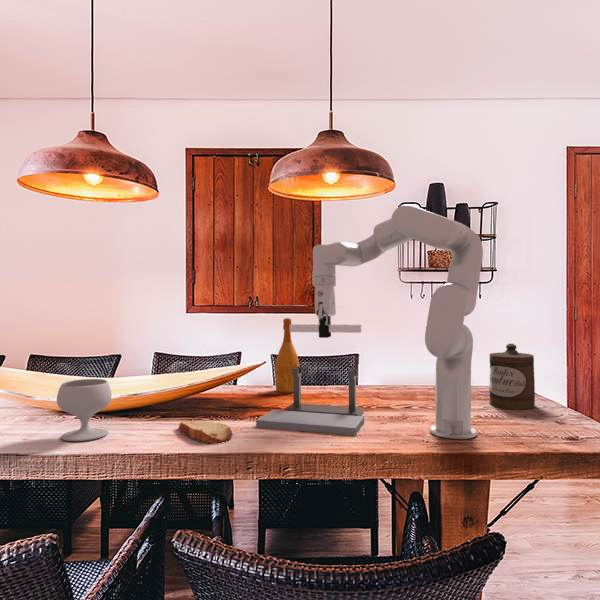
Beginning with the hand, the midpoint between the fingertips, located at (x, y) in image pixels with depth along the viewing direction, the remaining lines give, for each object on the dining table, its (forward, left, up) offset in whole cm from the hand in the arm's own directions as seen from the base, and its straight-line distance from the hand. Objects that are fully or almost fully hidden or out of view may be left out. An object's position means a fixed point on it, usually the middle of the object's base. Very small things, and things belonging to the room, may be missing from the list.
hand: (325, 336), depth 162 cm
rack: (0, 0, -25) cm, 25 cm away
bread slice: (-34, +27, -26) cm, 51 cm away
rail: (0, 0, +2) cm, 2 cm away
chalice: (-46, +57, -26) cm, 78 cm away
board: (-16, 0, -25) cm, 30 cm away
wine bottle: (+32, +24, -26) cm, 48 cm away
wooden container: (+31, -61, -26) cm, 73 cm away
